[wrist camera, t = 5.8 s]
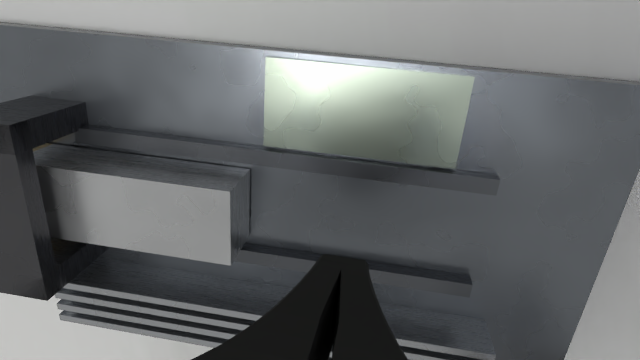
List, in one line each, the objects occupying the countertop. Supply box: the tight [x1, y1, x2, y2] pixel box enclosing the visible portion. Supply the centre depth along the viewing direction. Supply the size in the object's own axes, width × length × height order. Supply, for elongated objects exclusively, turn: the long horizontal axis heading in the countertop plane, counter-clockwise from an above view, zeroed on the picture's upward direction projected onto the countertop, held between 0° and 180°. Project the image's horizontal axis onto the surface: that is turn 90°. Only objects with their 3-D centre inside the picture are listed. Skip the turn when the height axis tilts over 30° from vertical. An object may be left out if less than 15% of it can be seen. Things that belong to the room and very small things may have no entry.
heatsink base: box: [0, 22, 640, 360], centre depth 16 cm, size 25×12×5 cm, turn 86°
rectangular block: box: [33, 143, 250, 266], centre depth 16 cm, size 10×3×2 cm, turn 86°
